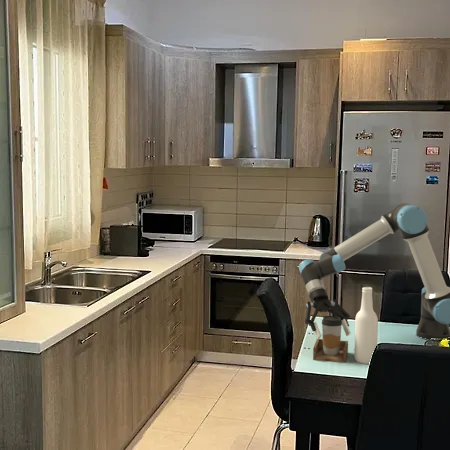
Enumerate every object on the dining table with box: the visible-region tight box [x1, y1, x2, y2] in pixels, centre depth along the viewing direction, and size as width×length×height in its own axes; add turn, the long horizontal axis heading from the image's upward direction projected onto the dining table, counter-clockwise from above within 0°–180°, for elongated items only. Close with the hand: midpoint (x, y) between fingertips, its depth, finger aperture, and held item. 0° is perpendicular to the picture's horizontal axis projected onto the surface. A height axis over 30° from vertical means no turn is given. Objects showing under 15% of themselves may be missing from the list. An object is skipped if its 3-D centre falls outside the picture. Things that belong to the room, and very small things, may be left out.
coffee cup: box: [321, 315, 343, 356], centre depth 244 cm, size 8×8×15 cm
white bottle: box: [353, 286, 379, 365], centre depth 238 cm, size 9×9×30 cm
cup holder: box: [312, 338, 349, 363], centre depth 245 cm, size 13×13×5 cm
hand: (334, 336), depth 242 cm, fingers open, 13 cm apart
